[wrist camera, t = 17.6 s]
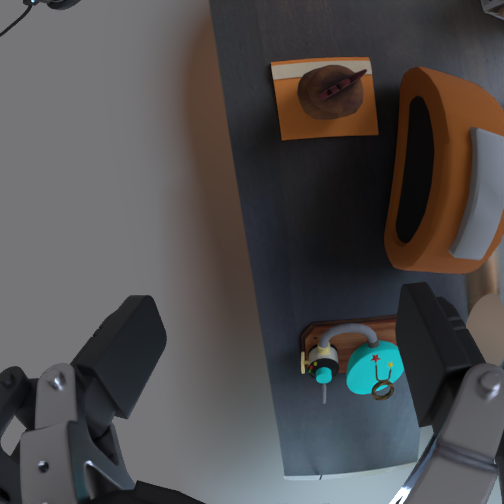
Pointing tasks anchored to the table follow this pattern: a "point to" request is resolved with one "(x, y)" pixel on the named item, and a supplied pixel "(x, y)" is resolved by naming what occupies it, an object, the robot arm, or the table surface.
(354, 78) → the wooden figurine
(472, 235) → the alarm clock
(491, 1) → the coffee box
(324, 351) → the contraption on wooden base
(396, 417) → the table surface
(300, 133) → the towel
